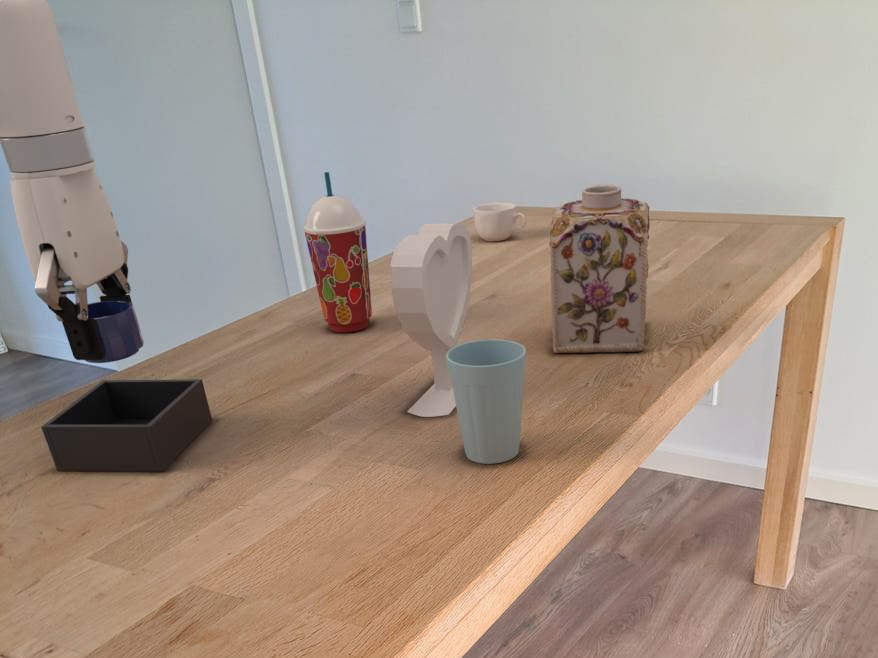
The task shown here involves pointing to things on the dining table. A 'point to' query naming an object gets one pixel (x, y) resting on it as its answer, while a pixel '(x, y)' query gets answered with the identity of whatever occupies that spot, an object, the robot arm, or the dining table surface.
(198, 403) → the dish tub
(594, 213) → the decorative jar
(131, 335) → the cylindrical container
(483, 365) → the cup
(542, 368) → the dining table surface
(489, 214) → the teacup
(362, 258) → the smoothie
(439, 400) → the heart sculpture
